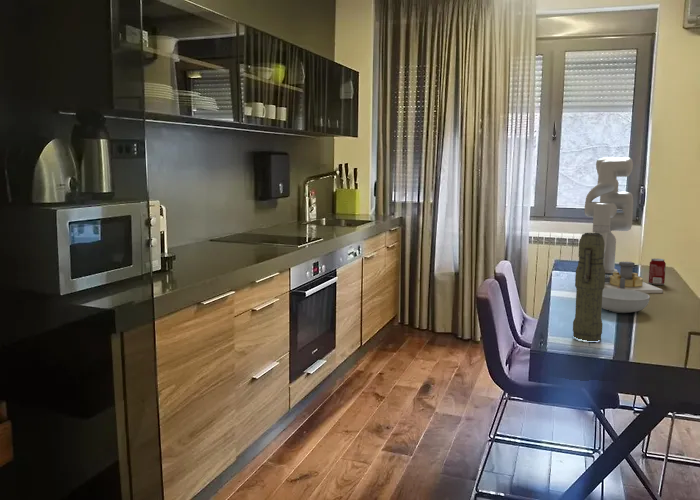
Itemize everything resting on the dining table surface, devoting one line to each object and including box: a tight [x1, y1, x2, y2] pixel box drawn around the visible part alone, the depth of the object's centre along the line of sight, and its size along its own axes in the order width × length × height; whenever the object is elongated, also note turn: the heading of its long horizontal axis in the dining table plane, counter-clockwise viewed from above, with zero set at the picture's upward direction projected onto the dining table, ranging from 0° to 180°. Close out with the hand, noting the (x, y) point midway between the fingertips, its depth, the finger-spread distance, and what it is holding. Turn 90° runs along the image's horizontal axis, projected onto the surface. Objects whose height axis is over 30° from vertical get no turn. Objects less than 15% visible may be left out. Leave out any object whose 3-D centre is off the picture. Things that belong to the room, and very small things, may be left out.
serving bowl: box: [602, 288, 651, 314], centre depth 231 cm, size 21×21×7 cm
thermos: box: [572, 232, 606, 341], centre depth 191 cm, size 9×12×35 cm
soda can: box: [648, 258, 667, 286], centre depth 279 cm, size 7×7×12 cm
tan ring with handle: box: [605, 271, 644, 287], centre depth 274 cm, size 24×14×4 cm, turn 70°
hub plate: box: [604, 261, 664, 294], centre depth 272 cm, size 24×22×12 cm
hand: (599, 267), depth 280 cm, fingers closed
